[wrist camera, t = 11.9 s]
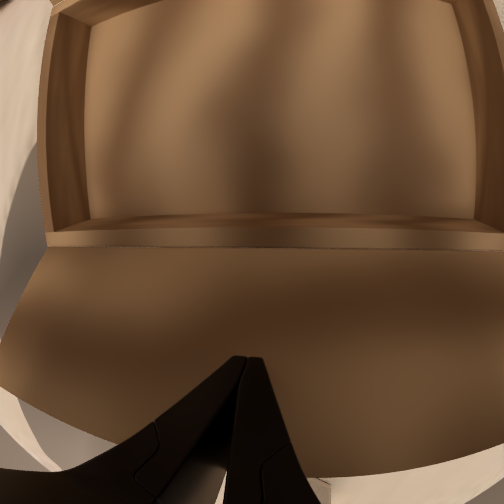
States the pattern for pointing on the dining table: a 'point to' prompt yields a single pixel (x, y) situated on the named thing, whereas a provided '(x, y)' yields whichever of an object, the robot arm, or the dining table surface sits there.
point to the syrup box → (321, 490)
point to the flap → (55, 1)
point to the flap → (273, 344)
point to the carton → (273, 124)
